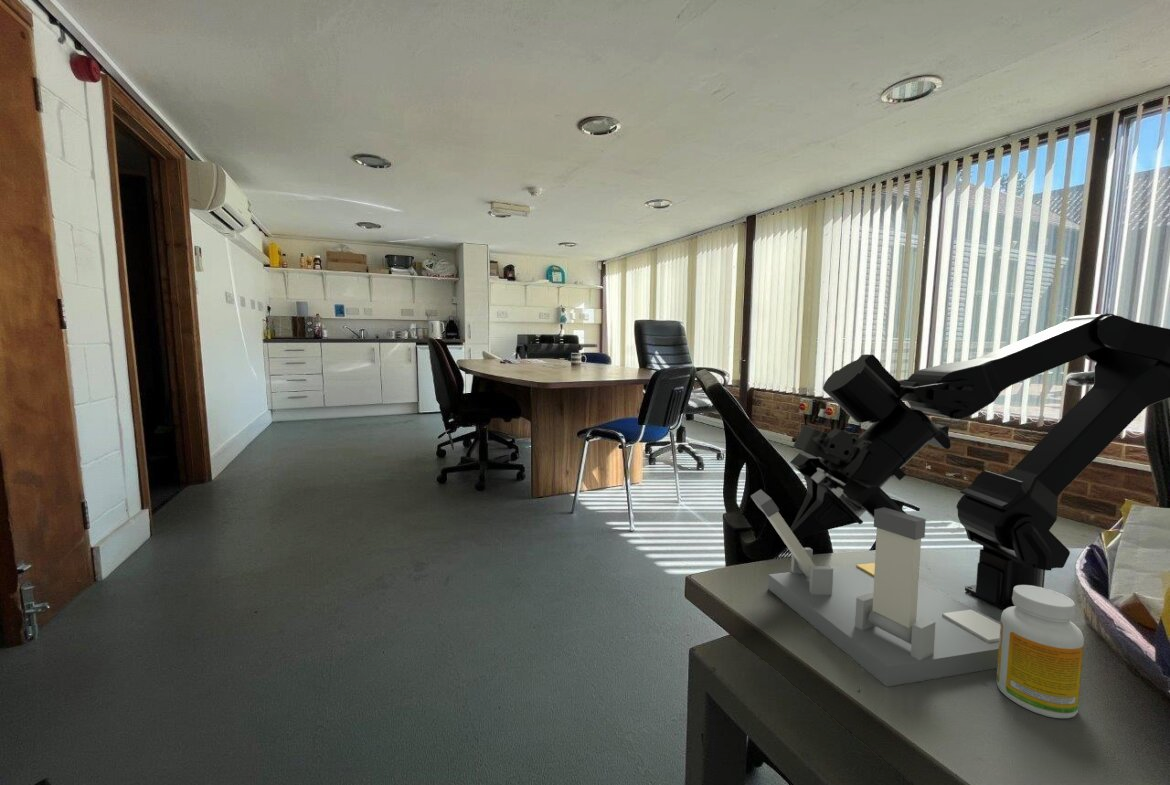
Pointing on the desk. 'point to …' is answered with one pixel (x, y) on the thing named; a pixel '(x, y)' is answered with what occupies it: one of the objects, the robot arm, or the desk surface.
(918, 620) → the grey base plate
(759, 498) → the switch
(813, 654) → the desk surface
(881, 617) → the switch
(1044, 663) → the supplement bottle
